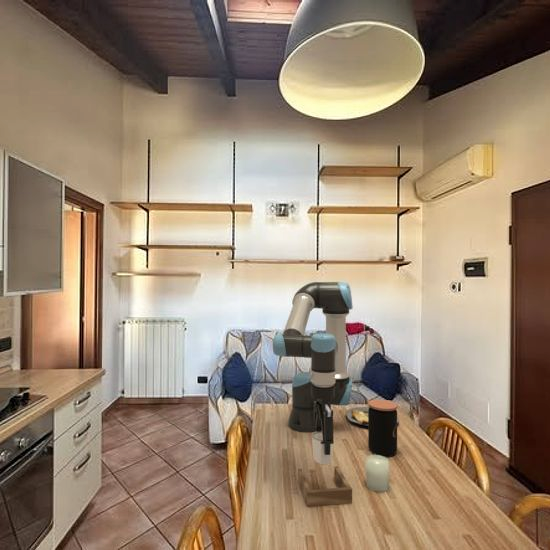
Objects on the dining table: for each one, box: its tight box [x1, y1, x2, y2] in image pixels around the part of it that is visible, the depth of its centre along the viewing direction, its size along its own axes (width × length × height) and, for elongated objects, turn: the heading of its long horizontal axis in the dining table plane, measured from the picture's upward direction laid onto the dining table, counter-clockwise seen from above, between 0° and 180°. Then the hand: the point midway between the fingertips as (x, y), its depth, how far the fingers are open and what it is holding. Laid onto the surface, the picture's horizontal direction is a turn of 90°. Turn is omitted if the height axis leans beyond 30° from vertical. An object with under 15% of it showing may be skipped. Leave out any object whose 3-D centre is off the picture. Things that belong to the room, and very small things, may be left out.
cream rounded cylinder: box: [365, 454, 390, 493], centre depth 115 cm, size 7×7×8 cm
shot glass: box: [311, 431, 334, 464], centre depth 113 cm, size 7×7×7 cm
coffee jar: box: [367, 399, 398, 458], centre depth 139 cm, size 11×11×18 cm
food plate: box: [344, 406, 400, 427], centre depth 170 cm, size 25×23×4 cm
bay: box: [297, 465, 353, 508], centre depth 111 cm, size 13×13×4 cm
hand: (322, 458), depth 113 cm, fingers closed on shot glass, 7 cm apart
